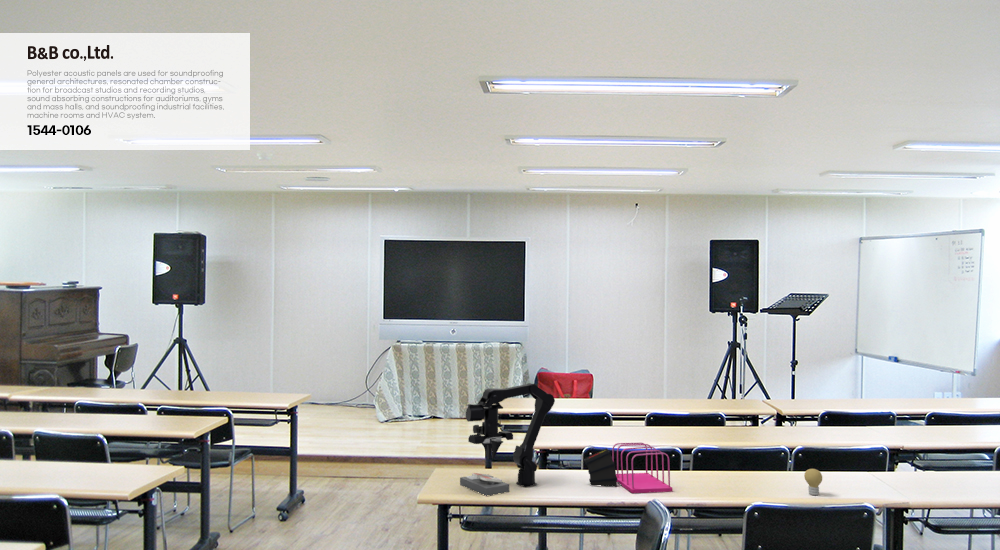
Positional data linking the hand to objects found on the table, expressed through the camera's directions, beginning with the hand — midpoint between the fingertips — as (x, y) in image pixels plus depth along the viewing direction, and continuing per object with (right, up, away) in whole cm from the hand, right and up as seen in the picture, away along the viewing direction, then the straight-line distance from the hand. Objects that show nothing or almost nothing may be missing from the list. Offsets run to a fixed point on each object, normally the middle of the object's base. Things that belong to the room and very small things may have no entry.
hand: (490, 458), depth 254 cm
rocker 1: (-3, -7, +1) cm, 8 cm away
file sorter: (+63, -13, +6) cm, 64 cm away
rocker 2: (0, -7, -4) cm, 8 cm away
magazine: (+46, -13, +5) cm, 48 cm away
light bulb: (+128, -12, -8) cm, 129 cm away
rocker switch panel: (-3, -12, 0) cm, 12 cm away
